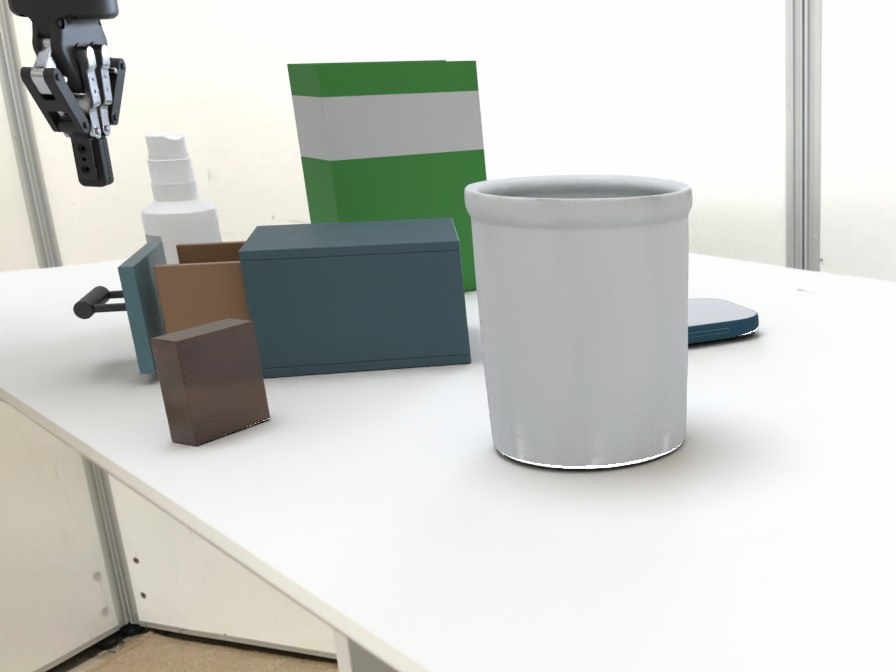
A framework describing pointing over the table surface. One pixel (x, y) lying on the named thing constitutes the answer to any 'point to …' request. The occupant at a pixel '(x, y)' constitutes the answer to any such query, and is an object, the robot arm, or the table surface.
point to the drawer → (173, 292)
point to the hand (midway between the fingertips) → (97, 185)
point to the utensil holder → (583, 314)
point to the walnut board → (211, 380)
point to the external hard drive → (718, 319)
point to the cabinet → (356, 296)
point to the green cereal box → (390, 142)
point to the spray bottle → (176, 199)
